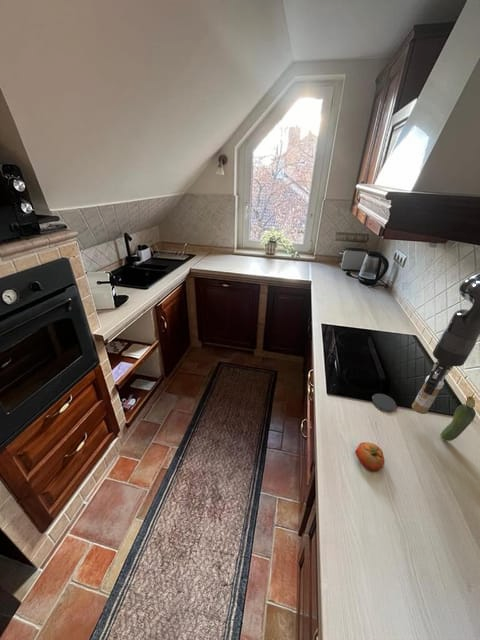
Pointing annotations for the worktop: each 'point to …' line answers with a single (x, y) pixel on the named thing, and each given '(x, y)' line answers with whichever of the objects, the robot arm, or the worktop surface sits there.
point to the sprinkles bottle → (425, 398)
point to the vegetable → (460, 420)
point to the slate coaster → (384, 402)
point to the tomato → (370, 456)
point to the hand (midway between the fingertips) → (430, 389)
